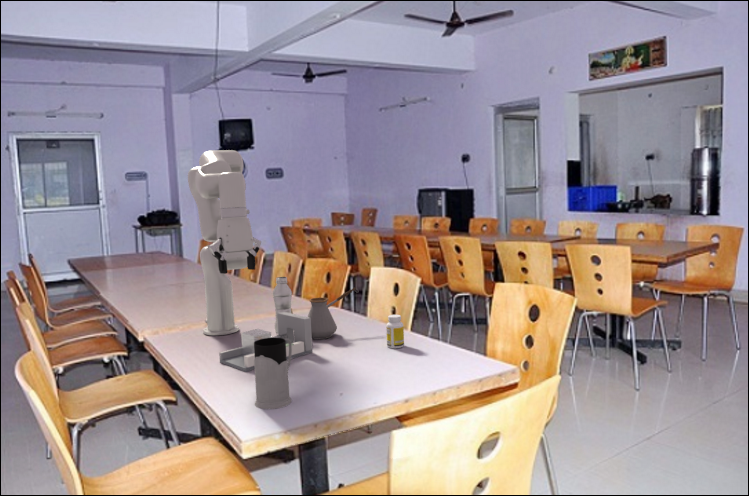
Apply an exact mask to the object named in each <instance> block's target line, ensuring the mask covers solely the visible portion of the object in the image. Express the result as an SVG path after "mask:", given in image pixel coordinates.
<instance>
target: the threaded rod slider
mask: <svg viewBox="0 0 749 496" xmlns="http://www.w3.org/2000/svg"><path fill="white" fill-rule="evenodd" d="M240 335H241V336H240V338H241V347H242V355H243V356H246V355H250V354H254V342H255V341H257V340H260V339H264V338H283V339H285V338H288V334H287V333H286V334H282V335H279V334H277V335H274V336H272V331H267V330H265V329H260V328H256V329H251V330H247V331H246V330H245V331H242V332H241V333H240Z"/></svg>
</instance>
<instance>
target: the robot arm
mask: <svg viewBox="0 0 749 496" xmlns="http://www.w3.org/2000/svg"><path fill="white" fill-rule="evenodd" d="M198 163H199V164H198V165H199V166H194V167H193V168H190V169H189V171H188V172H187V183H188V188H189V191H190V193H191V195H192V197H193V199H194V201H195V203H196V207H197V212H198V214H197V215H198V220H199V228H200V233H201V237H202V239H203V240H204V241H205V242H209V243H211V242H212V243H211V244H209V245H205V246H203V247H202V248H201V250H200V252H199V262H200V266H201V269H202V274H203V283H204V298H205V311H206V319H205V320H204V323H205V324H207V325H206V327H204V328H203V329H202V331H203V334H204V335H206V336H223V335H231V334H235V333H236V332H238V331H240V326H239V325H237V324H235V312H234V309H235V307H234V295H233V292H234V291H233V283H232V279H230V277H229V276H228V275H226V274H228V271H230V270H240V269H246V268H247V270H250V271H251V270H253V271H254V270H256V256H257V255H258V252H259V251H260V248H261V245H262V241H261V240H259V239H258V238H256V237H253V231H252V225H251V222H250V219H249V217H248V215H249V214H250V213H251V212H250V209H247V202H246V201H247V200H246V199H247V198H246V188H247V187H246V184H247V183H246V180H245V177H244V174H243V170H244V161H243V157H242V154H241V153H240V152H238V151H237V150H233V149H231V150H230V149H228V150H227V149H226V150H224V149H223V150H219V149H218V150H216V149H215V150H208V151H204V152H203V153H202V154H201V155H200V157H199V160H198Z"/></svg>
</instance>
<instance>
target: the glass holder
mask: <svg viewBox="0 0 749 496" xmlns="http://www.w3.org/2000/svg"><path fill="white" fill-rule="evenodd" d="M286 340H288V343H289V357H288V360H287V358H286ZM254 354H255V359H254V367H255V369H254V378H255V379H254V380H255V383H254V384H255V394H256V396H255V401H254V406H255V407H256V408H258V409H260V410H261V409H262V410H276V409H280V408H284V407H286V406H289V405H290V404H291V403H292V401H293V400H292V398H291V397H290V396H291V395H290V383H289V382H290V381H289V369H290V367H291V361H292V359H291V355H292V345H291V341H290V339H288V338H285V339H283V338H264V339H260V340H257V341H255V342H254Z"/></svg>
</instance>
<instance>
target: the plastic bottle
mask: <svg viewBox="0 0 749 496" xmlns="http://www.w3.org/2000/svg"><path fill="white" fill-rule="evenodd" d="M275 284H276V286H274V288H273V290H272V296H273V297H272V298H273V302H274V308H275V322H274V331H275V333H276V334H277V335H279V332H278V315H277V313H280V312H287V313H291V308H292V293H293V292H292V289H291V288H290V286H289V285H288V277H287V276H277V277H276V278H275ZM293 332H294V329H293Z"/></svg>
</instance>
